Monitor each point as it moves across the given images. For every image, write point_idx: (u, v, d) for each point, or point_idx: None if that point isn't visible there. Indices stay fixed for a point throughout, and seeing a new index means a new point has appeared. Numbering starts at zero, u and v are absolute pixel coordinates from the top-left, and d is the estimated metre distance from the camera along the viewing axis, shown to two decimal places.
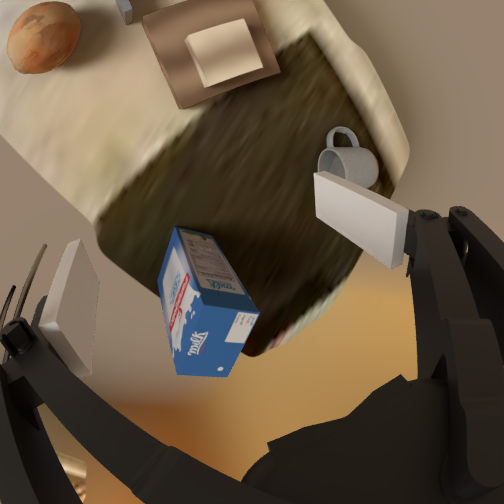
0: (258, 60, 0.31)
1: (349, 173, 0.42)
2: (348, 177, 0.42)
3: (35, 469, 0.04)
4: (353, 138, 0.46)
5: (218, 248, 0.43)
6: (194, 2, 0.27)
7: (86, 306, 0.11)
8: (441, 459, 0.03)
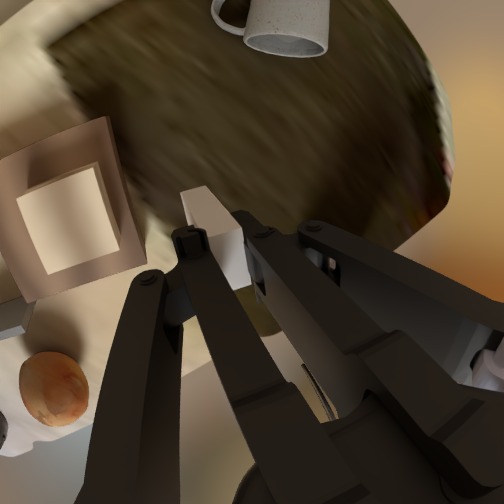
0: (81, 174, 0.19)
1: (300, 29, 0.19)
2: (306, 34, 0.19)
3: (155, 393, 0.06)
4: None
5: None
6: (3, 246, 0.21)
7: None
8: (441, 459, 0.03)
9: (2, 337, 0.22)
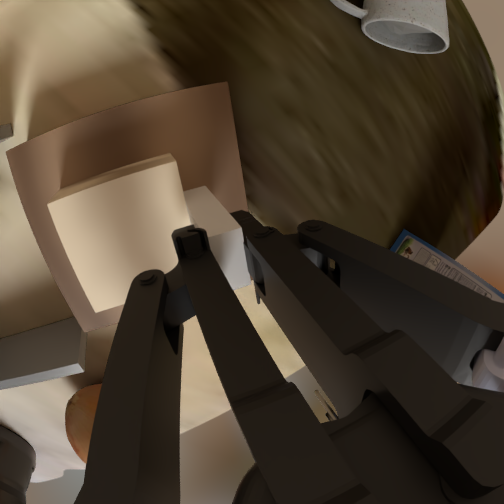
0: (156, 170, 0.14)
1: (435, 24, 0.14)
2: (439, 30, 0.14)
3: (155, 393, 0.06)
4: None
5: (431, 248, 0.28)
6: (52, 256, 0.16)
7: None
8: (441, 459, 0.03)
9: (48, 377, 0.18)
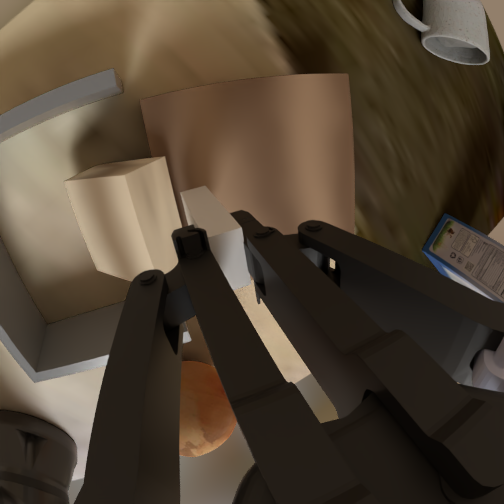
0: (113, 180, 0.14)
1: (482, 44, 0.16)
2: (485, 48, 0.16)
3: (155, 393, 0.06)
4: None
5: (470, 229, 0.30)
6: None
7: None
8: (441, 459, 0.03)
9: None
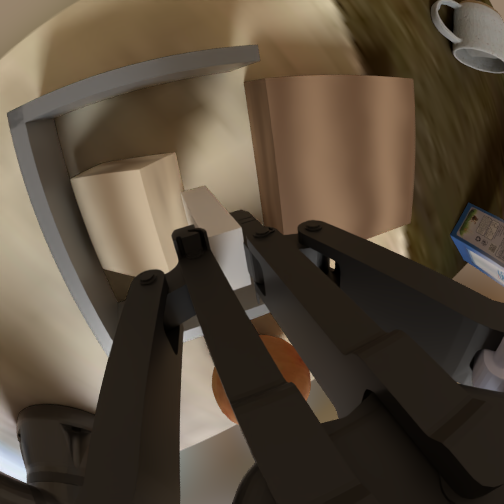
0: (126, 175, 0.14)
1: None
2: None
3: (155, 393, 0.06)
4: (447, 2, 0.19)
5: (491, 216, 0.33)
6: (287, 185, 0.20)
7: None
8: (441, 459, 0.03)
9: None
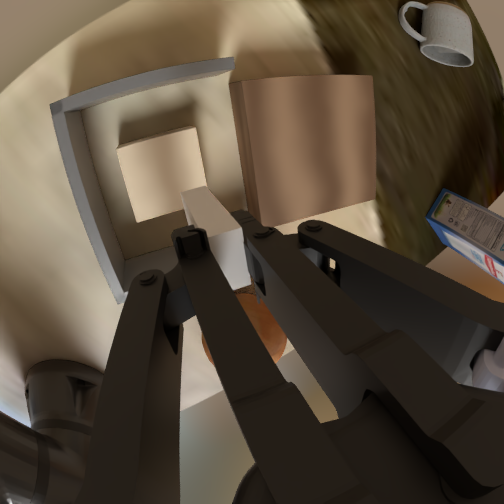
0: (184, 132, 0.24)
1: (466, 50, 0.23)
2: (469, 54, 0.23)
3: (155, 393, 0.06)
4: (415, 4, 0.24)
5: (464, 199, 0.38)
6: (260, 162, 0.26)
7: None
8: (441, 459, 0.03)
9: None
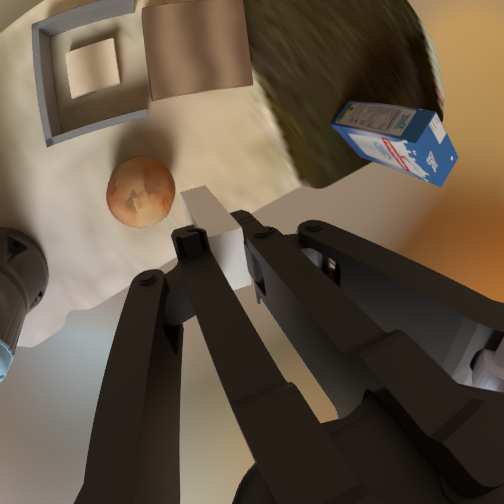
0: (105, 41, 0.29)
1: None
2: None
3: (155, 393, 0.06)
4: None
5: (364, 103, 0.44)
6: (151, 54, 0.31)
7: None
8: (442, 459, 0.03)
9: (121, 120, 0.32)
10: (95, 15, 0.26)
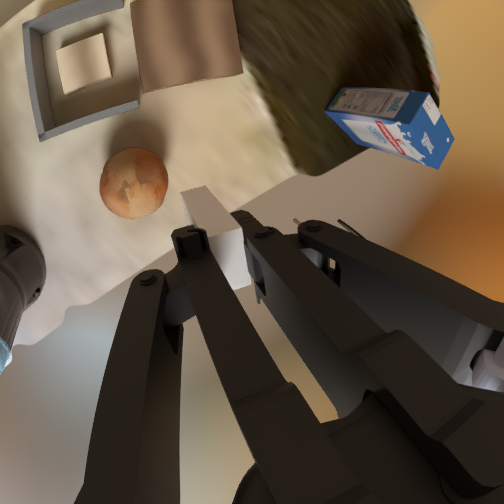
0: (95, 36, 0.28)
1: None
2: None
3: (155, 393, 0.06)
4: None
5: (357, 88, 0.43)
6: (141, 47, 0.30)
7: None
8: (441, 459, 0.03)
9: (112, 112, 0.32)
10: (84, 12, 0.25)
